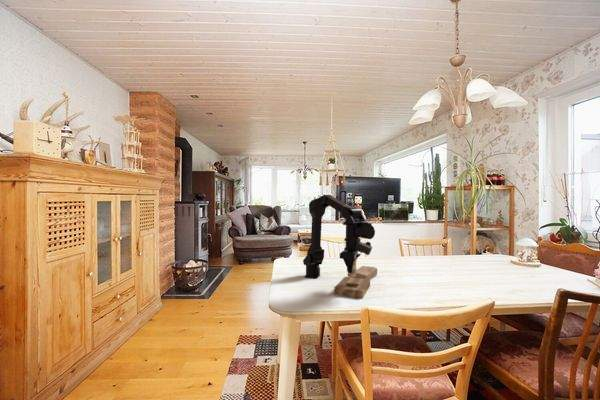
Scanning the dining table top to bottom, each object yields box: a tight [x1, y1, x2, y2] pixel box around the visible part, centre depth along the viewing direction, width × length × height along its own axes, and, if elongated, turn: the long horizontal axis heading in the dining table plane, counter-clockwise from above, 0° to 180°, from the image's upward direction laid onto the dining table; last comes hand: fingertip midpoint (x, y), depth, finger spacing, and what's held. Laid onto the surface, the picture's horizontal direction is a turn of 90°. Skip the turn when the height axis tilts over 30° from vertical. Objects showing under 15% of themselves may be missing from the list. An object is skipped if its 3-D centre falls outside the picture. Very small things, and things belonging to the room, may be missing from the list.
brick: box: [353, 265, 378, 281], centre depth 147 cm, size 17×8×5 cm, turn 145°
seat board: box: [333, 276, 371, 300], centre depth 127 cm, size 12×18×3 cm, turn 157°
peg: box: [346, 258, 358, 277], centre depth 125 cm, size 4×4×8 cm
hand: (351, 271), depth 125 cm, fingers closed on peg, 4 cm apart
